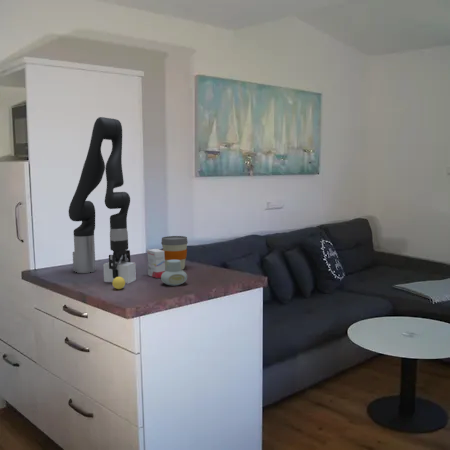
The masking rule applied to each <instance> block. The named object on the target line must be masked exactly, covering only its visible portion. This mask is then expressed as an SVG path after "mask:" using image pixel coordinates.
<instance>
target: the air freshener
mask: <svg viewBox="0 0 450 450" xmlns="http://www.w3.org/2000/svg"><path fill="white" fill-rule="evenodd" d="M160 279H161V281H162V283H164V284H165V285H167V286H172V287H178V286H180V285H182V284H184V283H186V281H187V279H188V274H187V273H186V271H184V270H183V269H182V270H181V261H180V260H168V261H167V270H165V272H164V273H163V274H162V275H161V277H160Z"/></svg>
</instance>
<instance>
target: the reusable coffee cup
mask: <svg viewBox="0 0 450 450" xmlns="http://www.w3.org/2000/svg"><path fill="white" fill-rule="evenodd" d="M160 244H161V247H162V249H161V250H162V251H164V255H165V271H167V261H168V260H180V261H181V270H182V271H183V270H184V269H185V268H186V267H185V266H186V259H187V253H188V248H187V246H188V237H187V236H184V235H167V236H162V237H161V243H160Z"/></svg>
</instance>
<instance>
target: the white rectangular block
mask: <svg viewBox="0 0 450 450" xmlns="http://www.w3.org/2000/svg"><path fill="white" fill-rule="evenodd" d="M111 266H112V263H111ZM136 267H137V265H136V262H132V261H130V262H121V263H120V265H118V269H117V270H118V277H122V278H123V279H124V280H125V284H131V283H133V282H135V281H137V274H136V273H137V271H136ZM113 280H114V278H113V271H112V269H109V261H108V262H105V263H103V282H105V283H112V282H113Z"/></svg>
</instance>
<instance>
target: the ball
mask: <svg viewBox="0 0 450 450" xmlns="http://www.w3.org/2000/svg"><path fill="white" fill-rule="evenodd" d="M111 284H112V287H113V288H115V289H116V290H121V289H123V288H124V287H125V285H126V283H125V280H124V279H123V278H122V277H116V278H114V280H113V282H111Z"/></svg>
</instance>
